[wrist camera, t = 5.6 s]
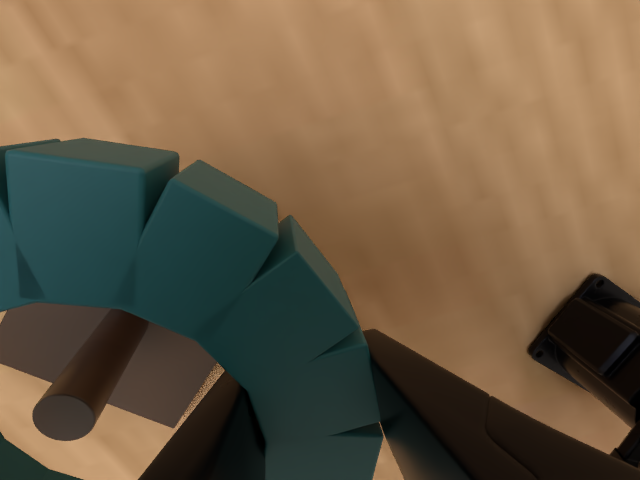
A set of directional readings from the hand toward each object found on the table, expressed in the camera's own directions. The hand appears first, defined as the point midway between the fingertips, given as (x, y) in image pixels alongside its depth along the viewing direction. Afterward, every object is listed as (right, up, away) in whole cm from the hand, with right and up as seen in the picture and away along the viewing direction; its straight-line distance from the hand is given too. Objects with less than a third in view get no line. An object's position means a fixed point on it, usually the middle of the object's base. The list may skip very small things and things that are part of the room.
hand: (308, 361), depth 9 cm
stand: (-10, -1, +12) cm, 15 cm away
